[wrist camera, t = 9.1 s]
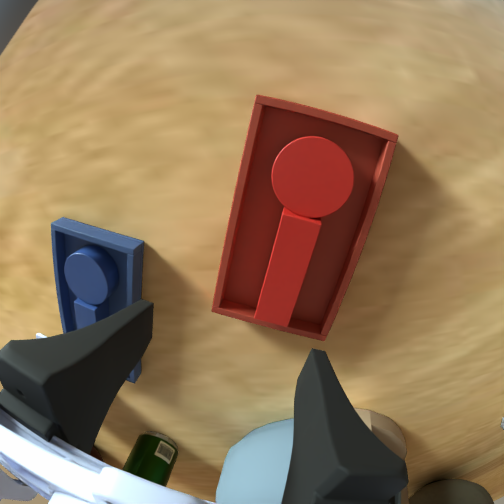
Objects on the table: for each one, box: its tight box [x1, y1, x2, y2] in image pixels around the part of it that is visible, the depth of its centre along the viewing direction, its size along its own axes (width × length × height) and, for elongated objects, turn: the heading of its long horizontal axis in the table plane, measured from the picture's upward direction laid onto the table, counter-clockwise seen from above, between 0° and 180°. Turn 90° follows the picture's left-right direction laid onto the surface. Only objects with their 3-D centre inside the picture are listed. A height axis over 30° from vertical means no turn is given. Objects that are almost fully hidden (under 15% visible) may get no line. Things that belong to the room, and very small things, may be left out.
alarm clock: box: [215, 408, 409, 504], centre depth 23 cm, size 19×20×12 cm
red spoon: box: [254, 136, 354, 327], centre depth 18 cm, size 11×4×2 cm, turn 168°
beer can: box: [122, 431, 178, 487], centre depth 27 cm, size 5×5×12 cm
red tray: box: [212, 95, 398, 341], centre depth 19 cm, size 14×8×2 cm, turn 168°
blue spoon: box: [64, 245, 119, 329], centre depth 23 cm, size 11×4×2 cm, turn 168°
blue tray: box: [51, 217, 144, 383], centre depth 24 cm, size 14×8×2 cm, turn 168°
